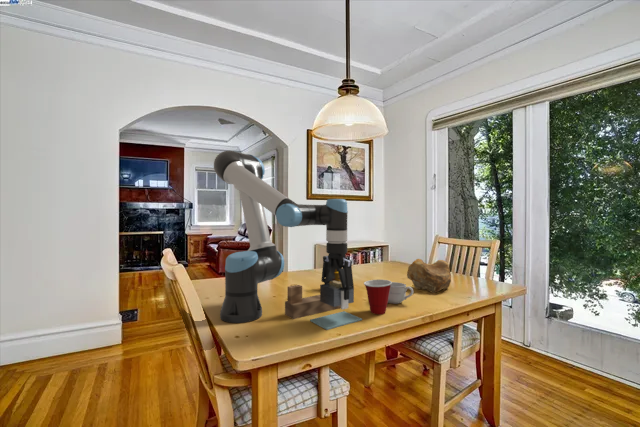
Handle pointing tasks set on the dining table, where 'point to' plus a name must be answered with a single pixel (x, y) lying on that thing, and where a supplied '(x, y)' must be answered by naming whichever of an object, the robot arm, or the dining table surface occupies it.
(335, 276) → the condiment
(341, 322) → the rubber mat
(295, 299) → the plane body
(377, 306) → the plastic cup
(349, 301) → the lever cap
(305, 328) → the dining table surface
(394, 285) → the teacup
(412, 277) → the rough brown rock
